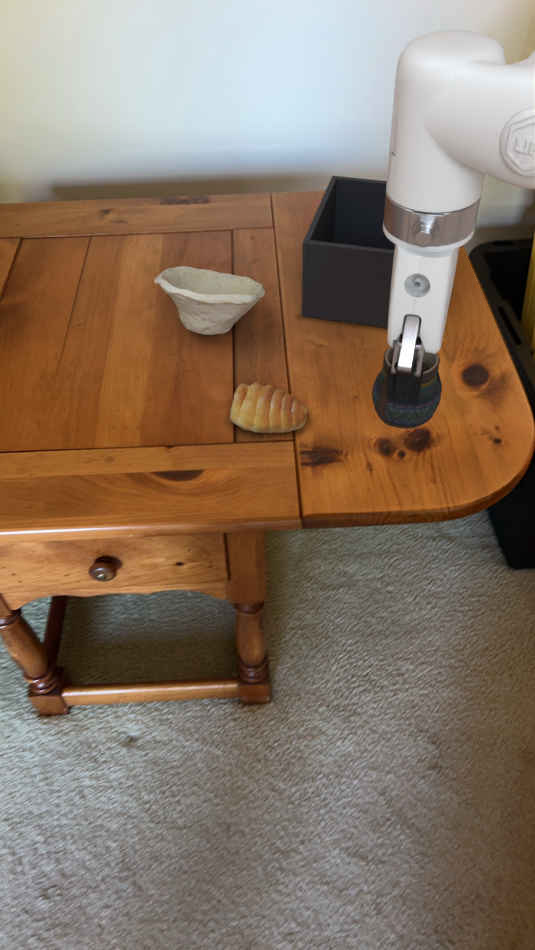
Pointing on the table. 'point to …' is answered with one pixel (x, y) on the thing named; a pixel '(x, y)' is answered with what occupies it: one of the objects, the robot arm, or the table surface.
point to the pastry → (267, 409)
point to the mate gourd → (401, 411)
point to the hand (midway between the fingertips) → (407, 376)
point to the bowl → (209, 297)
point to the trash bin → (348, 255)
